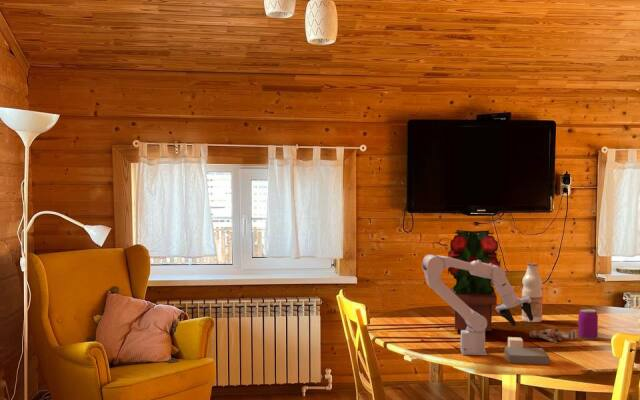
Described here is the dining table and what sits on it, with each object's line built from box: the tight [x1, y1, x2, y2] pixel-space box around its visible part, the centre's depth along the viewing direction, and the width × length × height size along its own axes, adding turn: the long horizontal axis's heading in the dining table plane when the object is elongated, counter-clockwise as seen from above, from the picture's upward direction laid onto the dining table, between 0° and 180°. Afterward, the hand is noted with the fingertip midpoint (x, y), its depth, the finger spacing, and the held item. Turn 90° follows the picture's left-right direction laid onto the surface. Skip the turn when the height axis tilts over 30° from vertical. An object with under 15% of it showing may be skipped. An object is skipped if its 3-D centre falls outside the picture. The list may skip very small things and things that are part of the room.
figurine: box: [528, 328, 578, 344], centre depth 270 cm, size 6×6×20 cm
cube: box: [507, 336, 524, 348], centre depth 254 cm, size 5×5×5 cm
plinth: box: [504, 346, 550, 366], centre depth 242 cm, size 14×12×3 cm
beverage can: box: [577, 308, 599, 341], centre depth 276 cm, size 8×8×12 cm
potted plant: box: [447, 229, 501, 335], centre depth 289 cm, size 22×22×45 cm
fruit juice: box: [521, 262, 543, 323], centre depth 311 cm, size 9×9×28 cm
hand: (523, 322), depth 252 cm, fingers open, 7 cm apart
